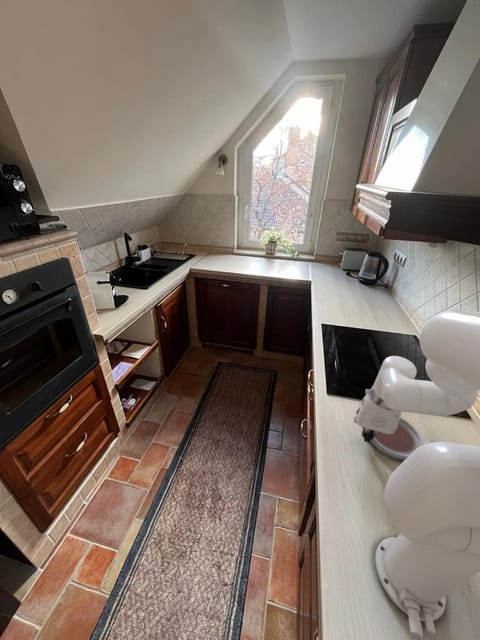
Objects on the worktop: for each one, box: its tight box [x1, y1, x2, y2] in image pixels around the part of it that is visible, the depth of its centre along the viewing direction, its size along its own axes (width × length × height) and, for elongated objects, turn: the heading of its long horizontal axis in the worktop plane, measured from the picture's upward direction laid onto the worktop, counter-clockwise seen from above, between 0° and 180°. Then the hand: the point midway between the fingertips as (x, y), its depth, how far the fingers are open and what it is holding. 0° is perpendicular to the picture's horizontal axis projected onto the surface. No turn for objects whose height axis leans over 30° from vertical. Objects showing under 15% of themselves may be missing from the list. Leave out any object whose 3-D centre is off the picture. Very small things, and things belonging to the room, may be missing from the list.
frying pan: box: [370, 416, 424, 462], centre depth 77 cm, size 17×3×28 cm
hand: (366, 438), depth 79 cm, fingers closed
